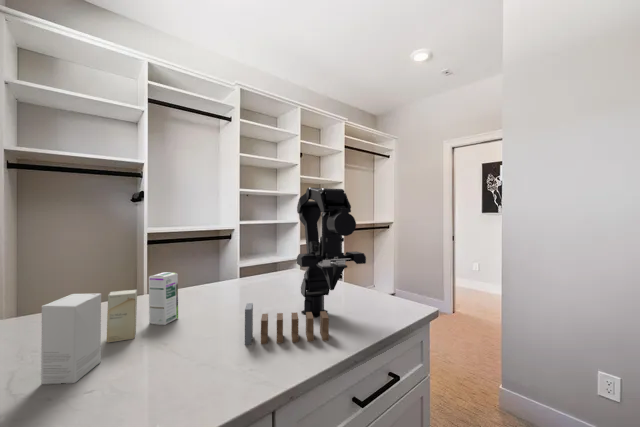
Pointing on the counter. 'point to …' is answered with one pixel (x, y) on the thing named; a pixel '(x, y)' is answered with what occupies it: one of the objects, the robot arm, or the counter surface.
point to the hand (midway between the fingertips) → (331, 289)
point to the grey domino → (248, 323)
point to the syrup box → (163, 298)
